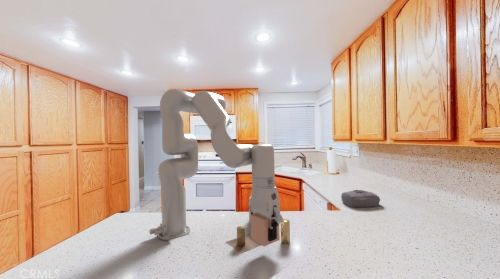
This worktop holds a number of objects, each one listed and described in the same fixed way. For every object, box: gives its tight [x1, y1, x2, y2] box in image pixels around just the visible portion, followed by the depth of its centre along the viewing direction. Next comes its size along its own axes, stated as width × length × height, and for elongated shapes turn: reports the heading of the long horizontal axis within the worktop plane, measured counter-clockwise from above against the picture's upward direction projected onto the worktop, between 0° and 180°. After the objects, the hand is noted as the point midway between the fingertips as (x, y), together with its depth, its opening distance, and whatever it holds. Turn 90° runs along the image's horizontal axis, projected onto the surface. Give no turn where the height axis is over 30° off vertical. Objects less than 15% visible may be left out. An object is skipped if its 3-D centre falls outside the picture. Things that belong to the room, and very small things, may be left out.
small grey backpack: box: [340, 189, 381, 209], centre depth 123 cm, size 15×8×20 cm
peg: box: [280, 218, 291, 245], centre depth 77 cm, size 3×3×9 cm
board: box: [225, 225, 281, 254], centre depth 80 cm, size 18×10×7 cm, turn 127°
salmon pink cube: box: [250, 214, 281, 247], centre depth 70 cm, size 7×7×8 cm
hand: (265, 235), depth 70 cm, fingers closed on salmon pink cube, 6 cm apart
